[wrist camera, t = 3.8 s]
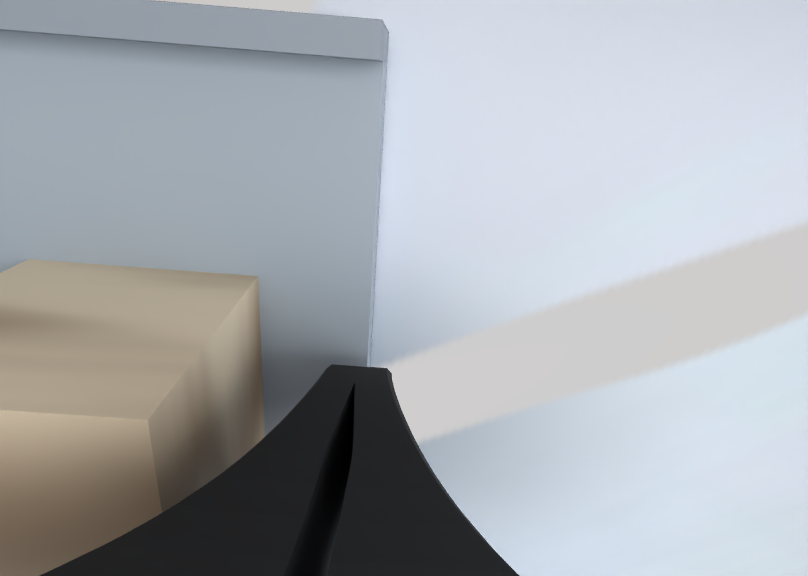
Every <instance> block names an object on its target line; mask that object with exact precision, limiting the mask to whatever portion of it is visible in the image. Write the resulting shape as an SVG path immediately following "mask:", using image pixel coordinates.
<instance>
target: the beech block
mask: <svg viewBox="0 0 808 576" xmlns="http://www.w3.org/2000/svg"><path fill="white" fill-rule="evenodd" d="M264 437H265V423H264V399H263V376H262V353H261V329H260V306H259V283H258V276H250V275H237V274H223V273H210V272H196V271H183V270H169V269H156V268H142V267H129V266H115V265H102V264H88V263H75V262H61V261H48V260H34V259H28V260H26V261H24V262H22V263H20V264H18V265H16V266H14V267H12V268H9V269H7V270H5V271H3V272H1V273H0V576H39V575H42V574H44V573H46V572H48V571H50V570H52V569H54V568H57V567H59V566H61V565H63V564H65V563H67V562H69V561H71V560H73V559H75V558H78V557H80V556H82V555H84V554H86V553H88V552H90V551H92V550H94V549H96V548H98V547H101V546H103V545H105V544H106V543H108V542H110V541H112V540H114V539H116V538H118V537H120V536H122V535H124V534H125V533H127V532H129V531H131V530H133V529H134V528H136V527H138V526H140V525H142V524H144V523H145V522H147V521H149V520H151V519H152V518H154V517H156V516H157V515H159V514H161V513H162V512H164V511H166V510H168V509H169V508H171V507H173V506H174V505H176V504H177V503H179V502H180V501H182V500H183V499H185V498H186V497H188V496H189V495H191V494H192V493H194V492H195V491H197V490H198V489H200V488H201V487H203V486H204V485H206V484H207V483H208V482H210V481H211V480H213V479H214V478H215V477H217V476H218V475H220V474H221V473H222V472H224V471H225V470H226V469H227V468H229V467H230V466H231V465H232V464H234V463H235V462H236V461H238V460H239V459H240V458H241V457H242V456H244V455H245V454H246V453H247V452H248V451H249V450H251V449H252V448H253V447H254V446H255V445H256V444H257V443H259V442H260V441H261V440H262V439H263V438H264Z"/></svg>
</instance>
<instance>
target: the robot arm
mask: <svg viewBox="0 0 808 576" xmlns="http://www.w3.org/2000/svg"><path fill="white" fill-rule="evenodd" d="M39 576H519V575H518V574H517V573H516V572H515V571H514V570H513V569H512V568H511V567H510V566H509V565H508V564H507V563H506V562H505V561H504V560H503V559H502V558H501V557H500V556H499V555H498V554H497V553H496V552H495V550H494V549H493V548H492V547H491V546H490V545H489V544H488V542H487V541H486V540H485V539H484V538H483V537H482V535H481V534H480V533H479V532H478V531H477V530H476V528H475V527H474V526H473V525H472V524H471V523H470V521H469V520H468V519H467V518H466V517H465V516H464V514H463V513H462V512H461V511H460V509H459V508H458V507H457V505H456V504H455V503H454V501H453V500H452V498H451V497H450V496H449V494H448V493H447V492H446V490H445V489H444V487H443V486H442V484H441V483H440V481H439V480H438V478H437V477H436V475H435V474H434V472H433V471H432V469H431V467H430V466H429V464H428V462H427V461H426V459H425V457H424V455H423V454H422V452H421V450H420V448H419V446H418V444H417V443H416V441H415V439H414V437H413V435H412V433H411V431H410V428H409V426H408V424H407V422H406V420H405V417H404V415H403V413H402V410H401V408H400V405H399V402H398V399H397V396H396V394H395V391H394V387H393V382H392V374H391V372H390V371H389V370H388V369H387V368H376V367H362V366H348V365H335V364H331V365H330V366H329V367H328V368H326V370H325V371H324V372H323V374H322V375H321V376H320V378H319V379H318V380H317V382H316V383H315V384H314V385H313V386H312V388H311V389H310V390H309V391H308V392H307V394H306V395H305V396H304V397H303V398H302V399H301V400H300V401H299V403H298V404H297V405H296V406H295V407H294V408H293V409H292V410H291V411H290V412H289V413H288V414H287V416H286V417H285V418H284V419H283V420H282V421H281V422H280V423H279V424H278V425H276V426H275V427H274V428H273V429H272V430H271V431H270V432H269V433H268V434H267V435H266V436H265V437H264V438H263V439H262V440H261V441H260V442H259V443H257V444H256V445H255V446H254V447H253V448H252V449H251V450H249V451H248V452H247V453H246V454H245V455H244V456H242V457H241V458H240V459H239V460H238V461H236V462H235V463H234V464H232V465H231V466H230V467H229V468H227V469H226V470H225V471H224V472H222V473H221V474H220V475H218V476H217V477H215V478H214V479H213V480H211V481H210V482H208V483H207V484H206V485H204V486H203V487H201V488H200V489H198V490H197V491H195V492H194V493H192V494H191V495H189V496H188V497H186V498H185V499H183V500H182V501H180V502H179V503H177V504H176V505H174V506H173V507H171V508H169V509H168V510H166V511H164V512H162V513H161V514H159V515H157V516H156V517H154V518H152V519H151V520H149V521H147V522H145V523H144V524H142V525H140V526H138V527H136V528H134V529H133V530H131V531H129V532H127V533H125V534H124V535H122V536H120V537H118V538H116V539H114V540H112V541H110V542H108V543H106V544H105V545H103V546H101V547H98V548H96V549H94V550H92V551H90V552H88V553H86V554H84V555H82V556H80V557H78V558H75V559H73V560H71V561H69V562H67V563H65V564H63V565H61V566H59V567H57V568H54V569H52V570H50V571H48V572H46V573H44V574H42V575H39Z"/></svg>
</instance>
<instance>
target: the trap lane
mask: <svg viewBox="0 0 808 576" xmlns="http://www.w3.org/2000/svg"><path fill="white" fill-rule="evenodd" d="M388 35H389V32H388V30H387V28H386V26H385V24H384V22H383V20H381V19H369V18H357V17H345V16H333V15H321V14H309V13H297V12H285V11H272V10H261V9H249V8H237V7H224V6H213V5H201V4H188V3H176V2H165V1H152V0H0V273H1V272H3V271H5V270H7V269H9V268H12V267H14V266H16V265H18V264H20V263H22V262H24V261H26V260H28V259H34V260H48V261H61V262H75V263H88V264H102V265H115V266H129V267H142V268H156V269H169V270H183V271H196V272H210V273H223V274H237V275H250V276H258V283H259V306H260V329H261V353H262V376H263V399H264V423H265V436H266V435H267V434H268V433H269V432H270V431H271V430H272V429H273V428H274V427H275V426H276V425H278V424H279V423H280V422H281V421H282V420H283V419H284V418H285V417H286V416H287V414H288V413H289V412H290V411H291V410H292V409H293V408H294V407H295V406H296V405H297V404H298V403H299V401H300V400H301V399H302V398H303V397H304V396H305V395H306V394H307V392H308V391H309V390H310V389H311V388H312V386H313V385H314V384H315V383H316V382H317V380H318V379H319V378H320V376H321V375H322V374H323V372H324V371H325V370H326V368H328V367H329V366H330V365H331V364H335V365H348V366H362V367H370V357H371V339H372V321H373V304H374V286H375V268H376V250H377V232H378V214H379V196H380V178H381V161H382V143H383V125H384V107H385V89H386V71H387V53H388Z"/></svg>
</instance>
